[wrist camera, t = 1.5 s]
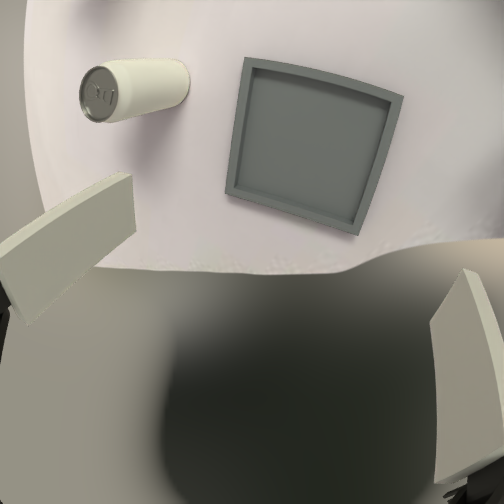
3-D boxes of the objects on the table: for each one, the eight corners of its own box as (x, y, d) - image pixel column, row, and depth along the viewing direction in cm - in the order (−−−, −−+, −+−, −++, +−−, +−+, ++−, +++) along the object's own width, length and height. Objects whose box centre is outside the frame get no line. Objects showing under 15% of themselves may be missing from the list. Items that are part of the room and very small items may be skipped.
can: (156, 53, 29) (82, 57, 19) (198, 65, 28) (128, 67, 19) (143, 99, 33) (72, 117, 23) (182, 114, 32) (114, 135, 23)
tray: (250, 58, 26) (244, 56, 25) (401, 95, 23) (403, 96, 22) (230, 188, 36) (224, 193, 34) (358, 228, 33) (358, 235, 31)
